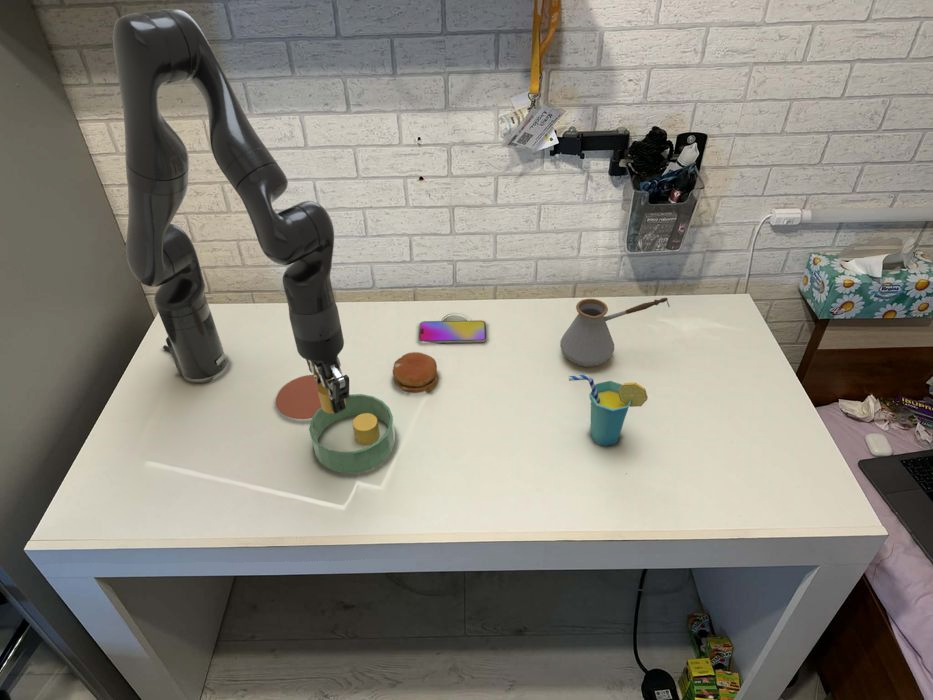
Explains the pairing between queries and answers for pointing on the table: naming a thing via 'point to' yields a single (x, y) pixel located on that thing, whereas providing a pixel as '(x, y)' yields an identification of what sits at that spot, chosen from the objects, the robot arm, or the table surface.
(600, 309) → the coffee pot
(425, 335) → the smartphone
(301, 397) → the plate
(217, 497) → the table surface
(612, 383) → the cup
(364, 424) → the yellow short cylinder
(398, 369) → the burger
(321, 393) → the yellow cylinder
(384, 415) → the green bowl
